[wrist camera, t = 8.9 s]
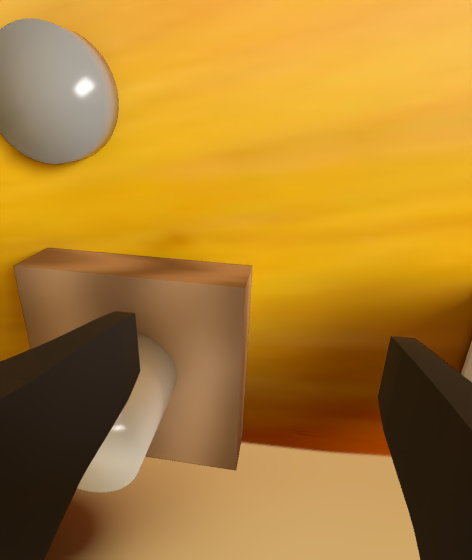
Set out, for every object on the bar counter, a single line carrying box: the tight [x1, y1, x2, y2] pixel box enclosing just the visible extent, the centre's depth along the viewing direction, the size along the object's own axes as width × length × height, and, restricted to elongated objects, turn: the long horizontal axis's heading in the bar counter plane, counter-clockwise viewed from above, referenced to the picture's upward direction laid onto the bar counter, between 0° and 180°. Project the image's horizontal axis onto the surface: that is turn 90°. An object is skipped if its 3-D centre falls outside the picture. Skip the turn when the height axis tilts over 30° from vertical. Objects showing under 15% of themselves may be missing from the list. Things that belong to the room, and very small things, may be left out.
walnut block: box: [14, 248, 252, 470], centre depth 23 cm, size 12×12×3 cm
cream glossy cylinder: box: [77, 333, 177, 492], centre depth 19 cm, size 5×5×6 cm
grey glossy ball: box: [0, 19, 119, 164], centre depth 18 cm, size 6×6×2 cm
